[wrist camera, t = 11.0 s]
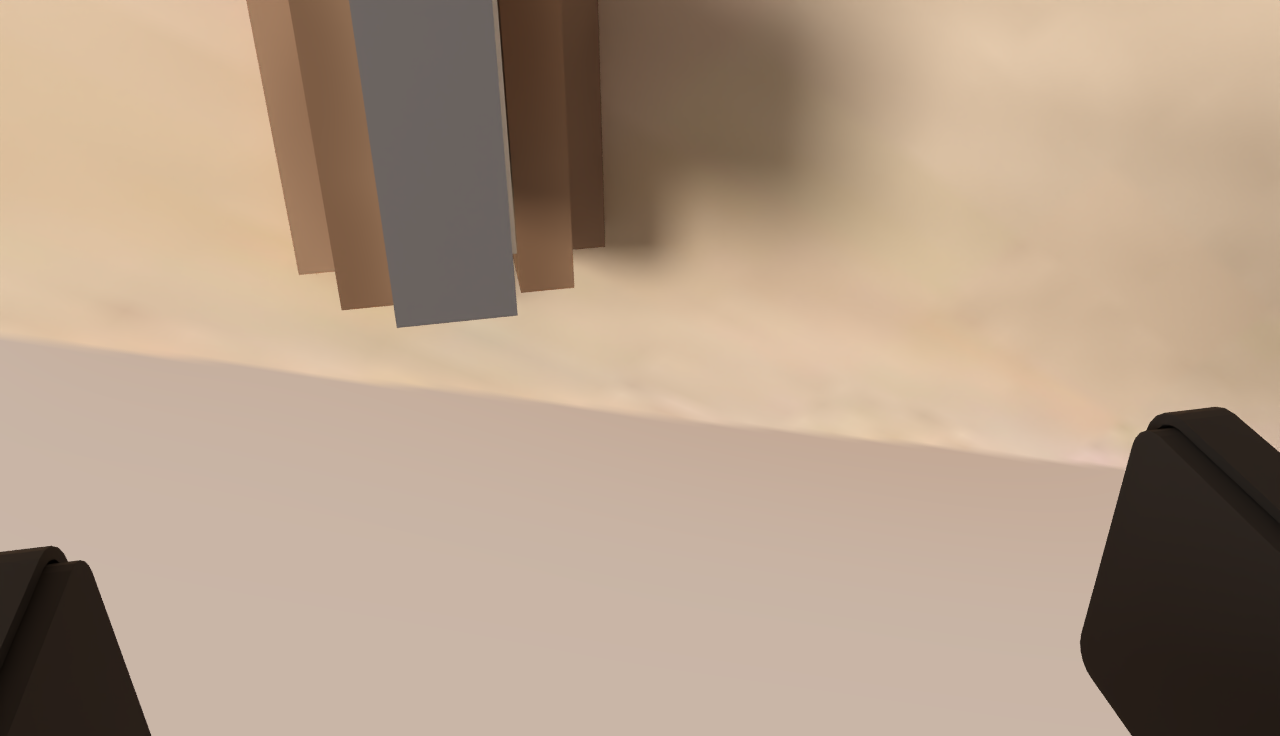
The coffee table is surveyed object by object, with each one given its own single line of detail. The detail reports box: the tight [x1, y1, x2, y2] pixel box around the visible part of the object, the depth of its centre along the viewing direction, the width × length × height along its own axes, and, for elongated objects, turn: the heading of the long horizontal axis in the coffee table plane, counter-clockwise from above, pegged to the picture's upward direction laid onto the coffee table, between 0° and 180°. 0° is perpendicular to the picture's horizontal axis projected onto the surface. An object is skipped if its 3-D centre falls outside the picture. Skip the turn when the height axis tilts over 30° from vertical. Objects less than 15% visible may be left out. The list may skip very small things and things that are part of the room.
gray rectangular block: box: [349, 0, 517, 328], centre depth 24 cm, size 3×7×10 cm, turn 1°
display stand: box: [246, 0, 605, 310], centre depth 28 cm, size 9×14×4 cm, turn 1°
